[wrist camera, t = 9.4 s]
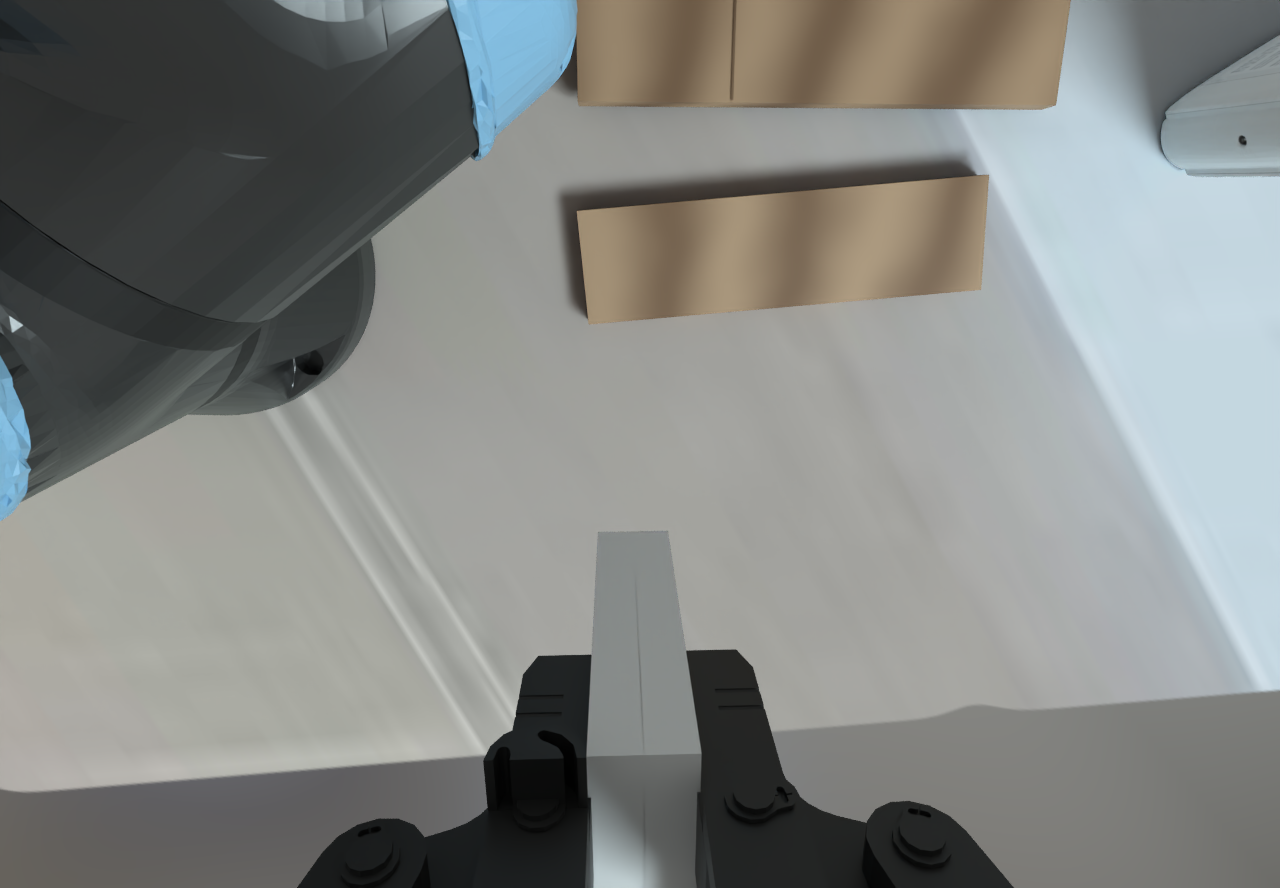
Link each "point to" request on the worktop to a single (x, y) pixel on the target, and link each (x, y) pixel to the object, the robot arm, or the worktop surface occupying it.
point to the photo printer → (1229, 120)
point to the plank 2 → (783, 249)
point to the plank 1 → (821, 53)
